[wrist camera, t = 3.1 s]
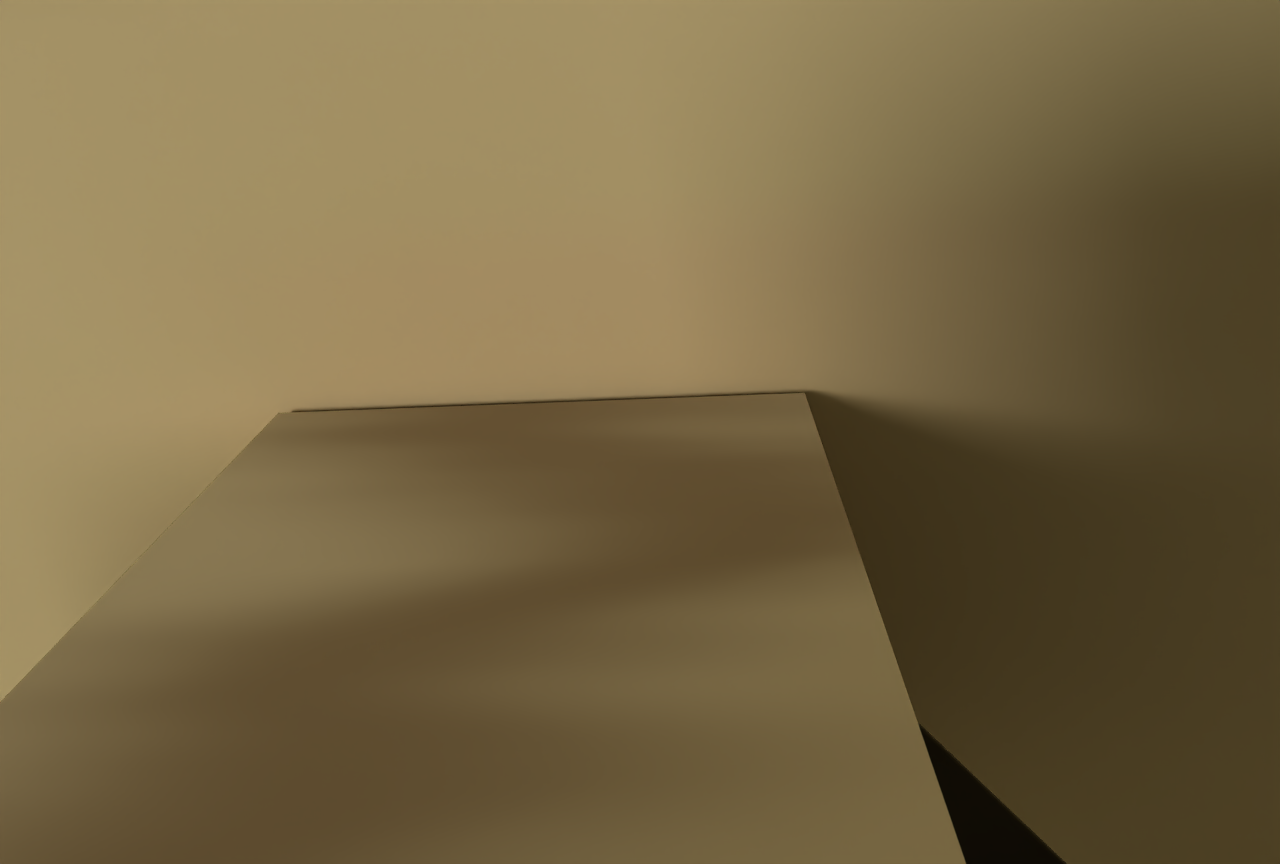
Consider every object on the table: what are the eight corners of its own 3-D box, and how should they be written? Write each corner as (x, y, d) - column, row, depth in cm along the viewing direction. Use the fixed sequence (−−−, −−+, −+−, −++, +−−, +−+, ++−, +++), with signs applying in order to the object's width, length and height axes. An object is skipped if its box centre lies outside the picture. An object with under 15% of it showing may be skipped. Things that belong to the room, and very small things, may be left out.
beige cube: (803, 393, 9) (1003, 972, 4) (798, 804, 11) (921, 1582, 6) (278, 413, 9) (-272, 984, 4) (364, 812, 11) (76, 1567, 6)
